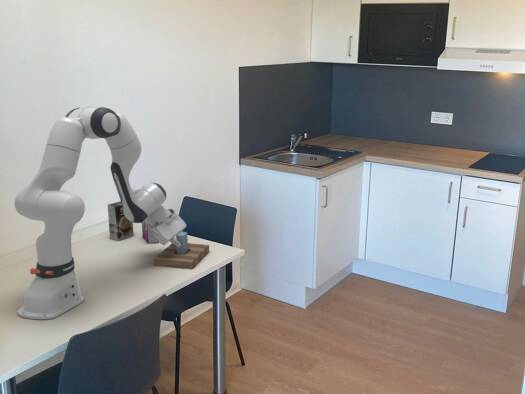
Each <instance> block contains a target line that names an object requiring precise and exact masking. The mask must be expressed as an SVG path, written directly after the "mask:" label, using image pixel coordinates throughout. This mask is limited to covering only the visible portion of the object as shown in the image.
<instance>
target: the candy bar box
mask: <svg viewBox="0 0 525 394" xmlns="http://www.w3.org/2000/svg"><path fill="white" fill-rule="evenodd" d="M141 232H142V238H143V239H144V240H145V241H146V242H147V244H148V245H149V244H151V245H152V244H156V243H159V241H158V240H157V239H156V237H155V236H154V235H153V233H152V230H151V225H150V224H149V223H148V222H147V221H146V219H145V220H144V221H143V222H142V223H141Z"/></svg>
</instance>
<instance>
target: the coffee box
mask: <svg viewBox="0 0 525 394" xmlns="http://www.w3.org/2000/svg"><path fill="white" fill-rule="evenodd" d="M107 213H108V215H107V216H108V218H107V219H108V229H109V239H111V240H114V241H117V242H119V241H122V240H126V239H129V238H132V237H134V223H133V222H130V221H129V220H128V219H127V218H126V217H125V215H124V213H123V209H122V204H121V200H120V201H117V202H113V203H112V202H111V203H109V204H107Z"/></svg>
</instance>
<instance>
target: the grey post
mask: <svg viewBox="0 0 525 394" xmlns="http://www.w3.org/2000/svg"><path fill="white" fill-rule="evenodd" d="M175 238H176V240H177V241H180V242H181V243H182V246H181V247H179V248H178V247H177V254H183V255H185V254H187V253H188V243H189V242H188V241H189V239H188V232H185V231H183V232H180V233H179V234H177V235H176V236H175ZM187 239H188V240H187Z"/></svg>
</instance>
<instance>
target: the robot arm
mask: <svg viewBox="0 0 525 394" xmlns="http://www.w3.org/2000/svg"><path fill="white" fill-rule="evenodd" d="M86 139H90V140H96V139H104V140H105V142H106V144H107V146H108V149H109V150H110V154H111V165H110V167H109V168H110V172H111V175H112V179H113V182H114V185H115V188H116V191H117V194H118V196H119V197H118V198H119V199H120V201H121V204H122V209H123V213H124V215H125V217H126V218H127V219H128V220H129V221H130V222H133V224H142V222H143V221H144V220H145V219H146V221H147V222H148V223H149V224H150V225H151V230H152V233H153V235H154V236H155V237H156V239H157V240H158V243H160V244H161V245H162V246H166V245H167V244H168V243H169V242H170V243H171V244H174V245H176V246H177V247H178V248H179V247H181V246H182V243H181V242H180V241H177V240H176V235H177V234H179V233H180V232H184V230H185V228H186V227H187V224H186V222H185V220H183V219H182V218H181V217H180V215H179V214H177V213H176V210H175V209H174V208H166V207H164V206H163V204H164V203H165V201H167V192H166V190H165V187H163V186H162V185H161V184H159V183H156V182H150V183H148V184H146V185H141V184H139V185H135V186H134V187H133V188H132V186H131V184H130V179H129V178H130V175H131V171H132V170H133V168H134V166H135V165H136V163H137V162H138V160H139V159H140V156H141V154H142V144H141V141H140V139H139V137H138V136H137V133H136V131H135V130H134V127H133V125H132V124H131V123H130V121H129V120H128V119H127V117H126V116H125V115H124V114H123V113H121V112H118V111H114V110H113V109H111V108H108V107H104V106H100V107H97V106H85V107H75V108H73V109H72V110H70V111H68V112H67V113H66V115H65V116H63V117H59V118H58V119H56V120H55V122H54V124H53V126H52V128H51V130H50V132H49V135H48V138H47V142H46V145H45V148H44V152H43V153H44V154H43V156H42V160H41V163H40V166H39V169H38V171H37V173H36V174H35V176H34V177H33V178H32V180H31V182H30V183H29V184H27V185H26V187H24V188H22V189H21V190H20V191H18V192H17V194H16V196H15V197H14V208H15V211H16V212H17V213H18V214H19V215H20V216H23V217H25V218H27V219H29V220H33V221H39V222H43V223H44V231H43V233H41V234H40V235H39V236H38V237H37V238H36V239H35V247H36V248H35V249H36V257H37V262H36V266H35V268H33V267H32V268H30V270H29V274H30V275H35V277H34V278H33V279H32V280H31V281H32V282H31V283H30V285H29V287H28V288H27V290H26V292H24V295H23V305H22V306H20V308H19V309H18V310H17V311H16V314H17V315H18V316H19V317H22V318H25V319H31V320H51V319H52V320H53V319H54V318H57V317H59V316H61V315H62V314H64V313H66V312H67V311H69V310H71V309H73V308H75V307H77V306H78V305H80V304H81V303H84V301H85V298H84V297H85V296H83V295H82V293H81V287H80V283H79V282H80V281H79V277H78V276H77V274H76V272H75V268H76V266H75V264H76V263H75V259H74V257H73V253H72V249H73V248H72V234H73V230H74V228H75V226H76V225H77V224H78V223H79V222H80V221H81V219H82V218H83V217H84V214H85V210H86V208H85V207H86V205H85V202H84V199H82V197H80V196H79V195H76V194H74V193H72V192H70V191H66V190H61V188H63V185H64V184H65V183H67V181H70V180H71V179H73V178H74V176H75V175H76V172H77V168H78V164H79V159H80V156H81V151H82V147H83V146H82V145H83V143H84V141H85V140H86ZM187 240H188V241H189V239H188V238H187Z"/></svg>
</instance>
